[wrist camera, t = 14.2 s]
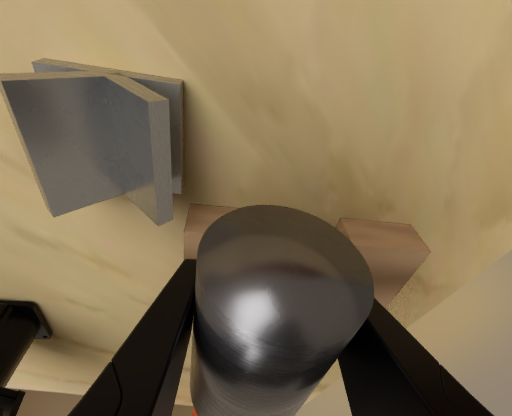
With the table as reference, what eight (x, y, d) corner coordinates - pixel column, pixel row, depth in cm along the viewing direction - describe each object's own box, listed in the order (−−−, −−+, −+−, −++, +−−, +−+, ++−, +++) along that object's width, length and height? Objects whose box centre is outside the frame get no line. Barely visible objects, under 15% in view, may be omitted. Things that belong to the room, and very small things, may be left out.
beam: (370, 283, 27) (383, 311, 25) (189, 272, 25) (184, 301, 22) (411, 224, 22) (431, 251, 20) (190, 203, 20) (183, 231, 18)
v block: (183, 186, 19) (171, 227, 16) (76, 175, 18) (38, 216, 15) (183, 80, 15) (166, 104, 11) (43, 58, 14) (-21, 77, 10)
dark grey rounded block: (288, 324, 13) (311, 442, 9) (195, 323, 12) (183, 452, 9) (338, 210, 9) (411, 345, 5) (203, 199, 8) (186, 347, 5)
